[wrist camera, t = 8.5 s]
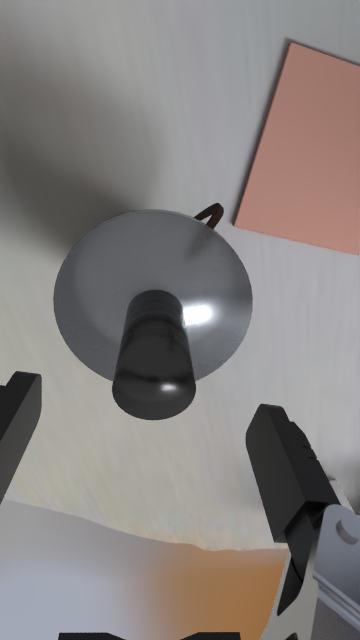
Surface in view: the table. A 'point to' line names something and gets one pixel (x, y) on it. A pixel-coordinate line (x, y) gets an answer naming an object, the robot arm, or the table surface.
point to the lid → (153, 307)
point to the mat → (308, 156)
